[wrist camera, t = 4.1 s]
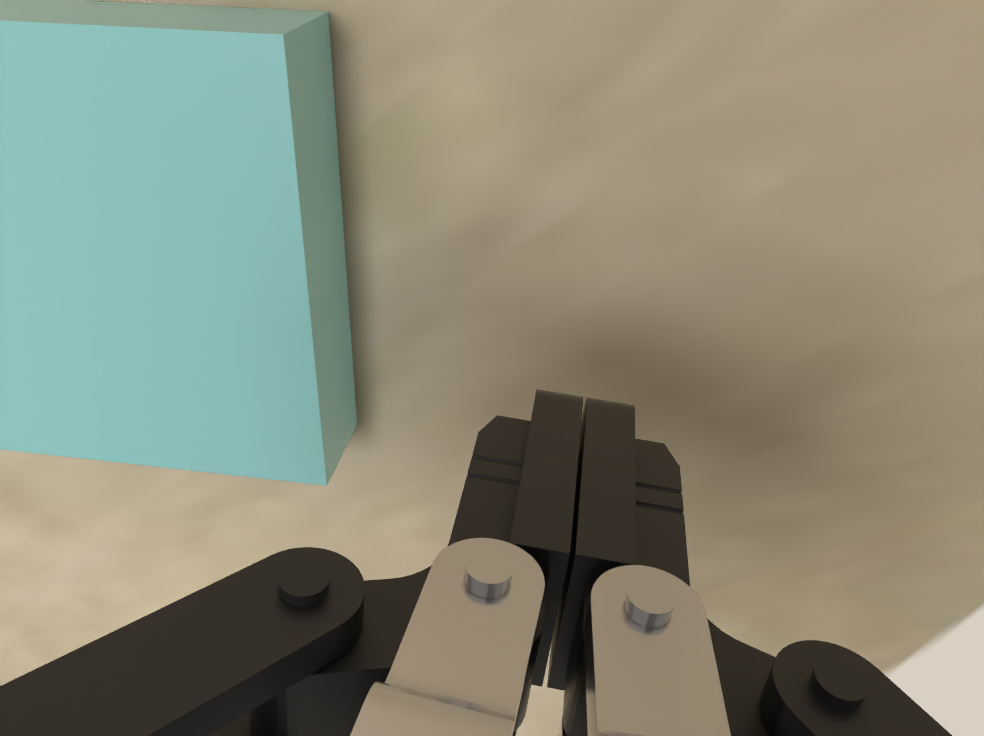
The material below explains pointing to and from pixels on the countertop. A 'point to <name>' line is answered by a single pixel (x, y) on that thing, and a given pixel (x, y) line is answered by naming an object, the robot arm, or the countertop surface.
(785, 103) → the countertop surface
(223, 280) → the thin teal board
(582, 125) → the countertop surface
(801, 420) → the countertop surface
